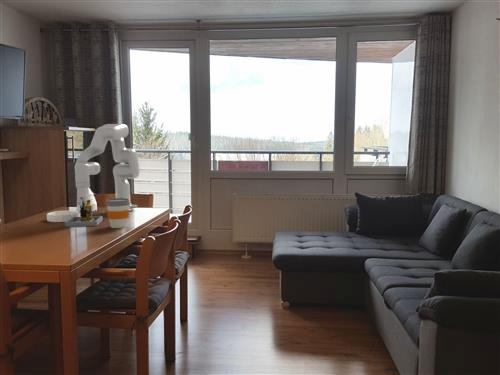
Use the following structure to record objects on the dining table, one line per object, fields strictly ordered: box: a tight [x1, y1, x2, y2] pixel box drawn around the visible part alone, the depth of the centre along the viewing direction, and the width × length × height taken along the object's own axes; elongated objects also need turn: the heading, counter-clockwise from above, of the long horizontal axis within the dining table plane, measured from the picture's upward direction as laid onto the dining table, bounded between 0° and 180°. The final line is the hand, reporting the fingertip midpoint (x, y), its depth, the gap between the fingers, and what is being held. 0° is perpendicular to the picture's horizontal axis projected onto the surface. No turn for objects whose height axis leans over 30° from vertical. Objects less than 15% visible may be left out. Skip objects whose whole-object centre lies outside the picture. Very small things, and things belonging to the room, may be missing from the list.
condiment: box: [76, 200, 94, 222], centre depth 241 cm, size 7×8×12 cm
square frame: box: [64, 215, 104, 228], centre depth 241 cm, size 17×17×2 cm
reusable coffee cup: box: [105, 197, 131, 229], centre depth 231 cm, size 13×13×15 cm
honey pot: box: [76, 188, 98, 213], centre depth 286 cm, size 13×13×18 cm
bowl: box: [46, 210, 80, 223], centre depth 254 cm, size 17×17×4 cm
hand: (84, 215), depth 241 cm, fingers closed on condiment, 6 cm apart
